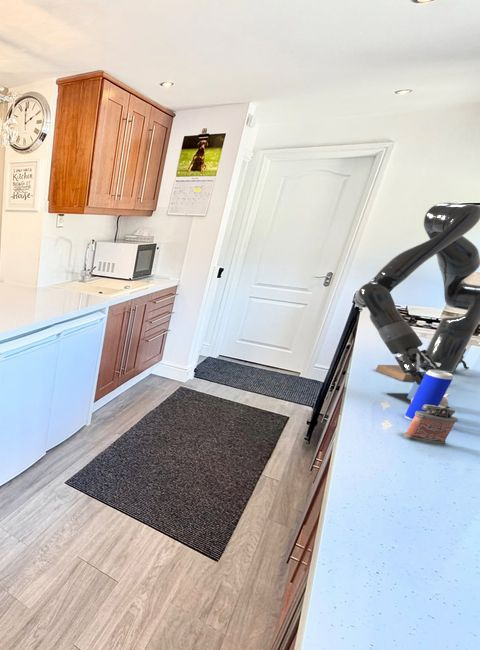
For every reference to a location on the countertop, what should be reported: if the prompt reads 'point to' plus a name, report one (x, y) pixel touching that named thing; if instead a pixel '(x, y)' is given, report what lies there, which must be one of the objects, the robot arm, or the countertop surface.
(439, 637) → the countertop surface
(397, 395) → the mat
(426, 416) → the lighter
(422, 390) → the beverage can
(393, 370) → the platform
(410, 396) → the post
